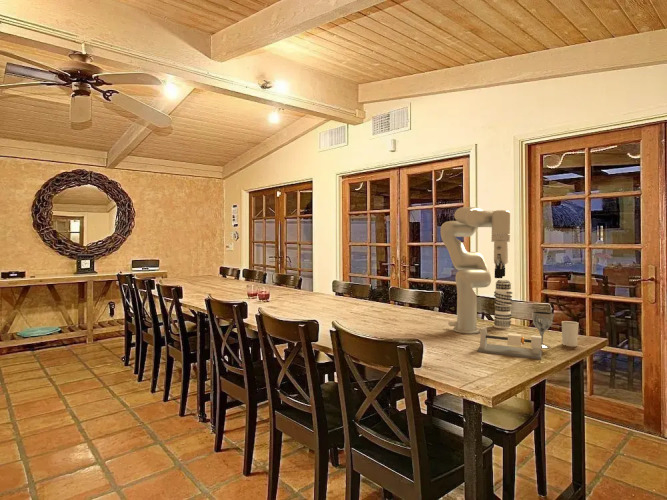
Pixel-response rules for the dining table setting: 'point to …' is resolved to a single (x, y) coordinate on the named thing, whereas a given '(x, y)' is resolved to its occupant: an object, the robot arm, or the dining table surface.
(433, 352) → the dining table surface
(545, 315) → the wine glass
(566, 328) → the beige cup
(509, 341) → the sleeve
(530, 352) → the board
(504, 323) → the decorative candle
